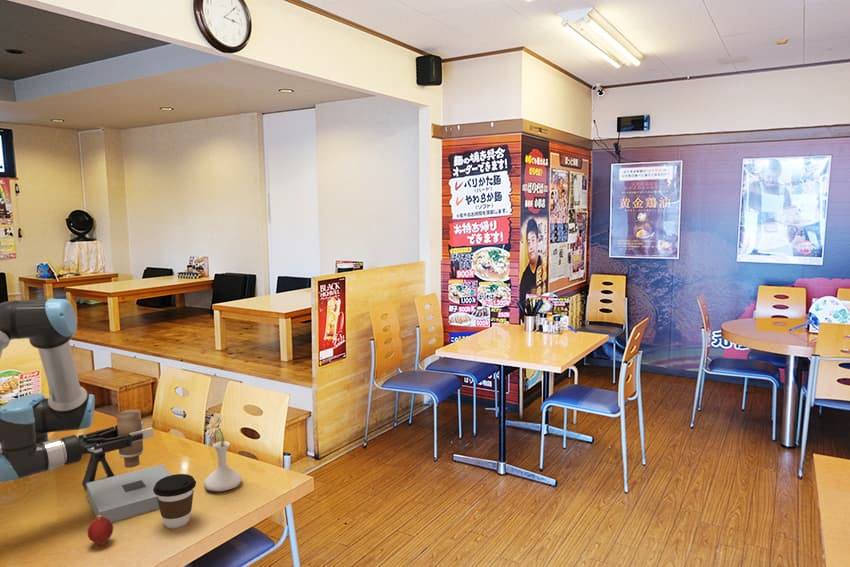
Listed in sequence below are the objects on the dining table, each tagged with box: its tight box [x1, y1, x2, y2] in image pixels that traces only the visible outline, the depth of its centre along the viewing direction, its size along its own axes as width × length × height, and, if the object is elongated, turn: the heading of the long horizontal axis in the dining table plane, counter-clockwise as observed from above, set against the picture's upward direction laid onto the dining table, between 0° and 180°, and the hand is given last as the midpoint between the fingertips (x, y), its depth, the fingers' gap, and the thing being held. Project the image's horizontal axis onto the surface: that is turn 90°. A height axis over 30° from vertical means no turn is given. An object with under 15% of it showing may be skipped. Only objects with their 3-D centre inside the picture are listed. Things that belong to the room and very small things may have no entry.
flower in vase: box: [203, 412, 243, 492], centre depth 183 cm, size 13×11×25 cm
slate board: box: [86, 463, 172, 524], centre depth 178 cm, size 22×22×4 cm
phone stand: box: [81, 453, 115, 492], centre depth 187 cm, size 9×6×12 cm, turn 130°
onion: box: [87, 515, 114, 546], centre depth 154 cm, size 6×6×8 cm
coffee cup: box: [153, 473, 197, 529], centre depth 164 cm, size 11×11×12 cm
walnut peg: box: [116, 409, 145, 469], centre depth 175 cm, size 7×7×16 cm
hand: (147, 429), depth 179 cm, fingers closed on walnut peg, 6 cm apart
